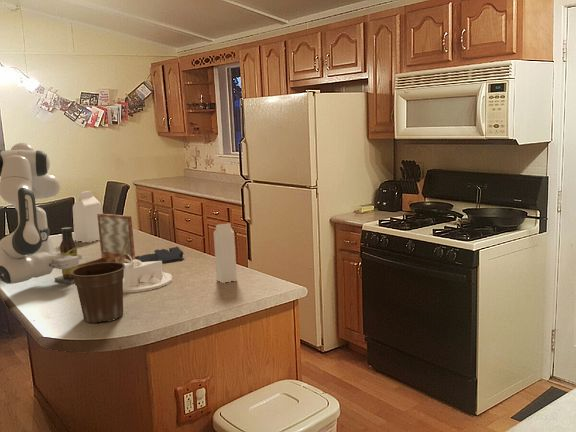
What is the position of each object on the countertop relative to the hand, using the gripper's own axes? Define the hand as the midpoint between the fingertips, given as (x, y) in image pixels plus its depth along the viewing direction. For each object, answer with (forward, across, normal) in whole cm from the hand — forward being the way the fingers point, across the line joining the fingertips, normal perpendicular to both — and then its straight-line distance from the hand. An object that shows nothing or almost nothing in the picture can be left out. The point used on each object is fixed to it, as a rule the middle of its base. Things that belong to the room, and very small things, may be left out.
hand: (72, 255), depth 225 cm
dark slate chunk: (+36, -11, +10) cm, 39 cm away
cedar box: (+14, 0, +10) cm, 17 cm away
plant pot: (-26, -47, +10) cm, 54 cm away
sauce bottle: (-2, 0, +8) cm, 9 cm away
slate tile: (-1, 0, +10) cm, 10 cm away
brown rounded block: (+19, -6, +10) cm, 22 cm away
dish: (+7, -29, +10) cm, 31 cm away
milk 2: (+23, -59, +10) cm, 64 cm away
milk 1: (+54, +57, +10) cm, 79 cm away
